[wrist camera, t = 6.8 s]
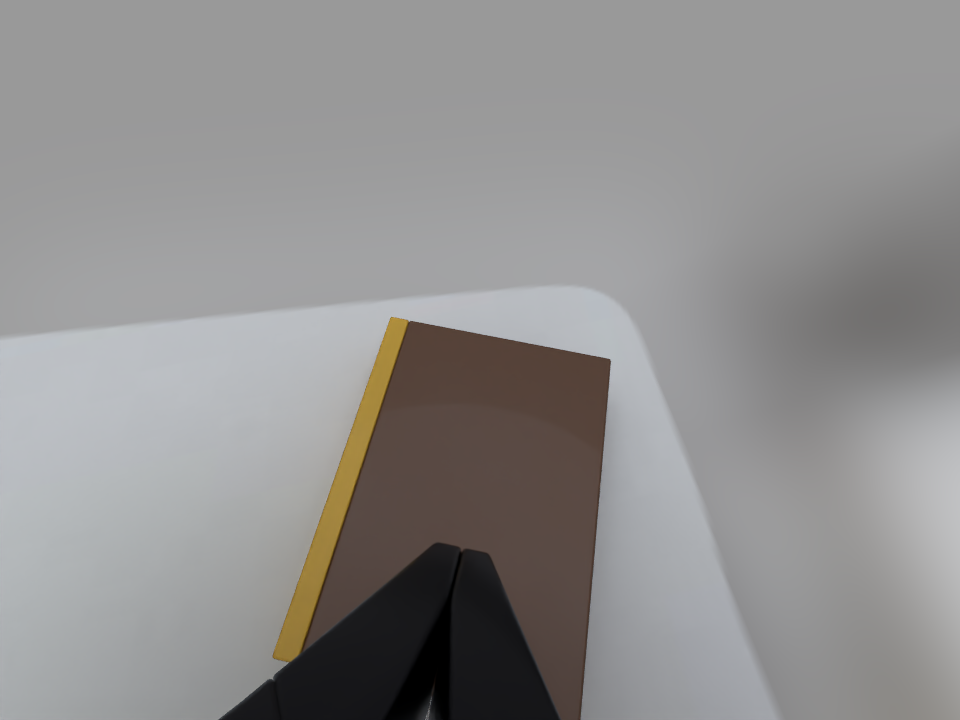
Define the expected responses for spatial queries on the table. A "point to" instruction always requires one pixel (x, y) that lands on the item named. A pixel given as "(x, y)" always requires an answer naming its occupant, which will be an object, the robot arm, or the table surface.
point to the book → (468, 487)
